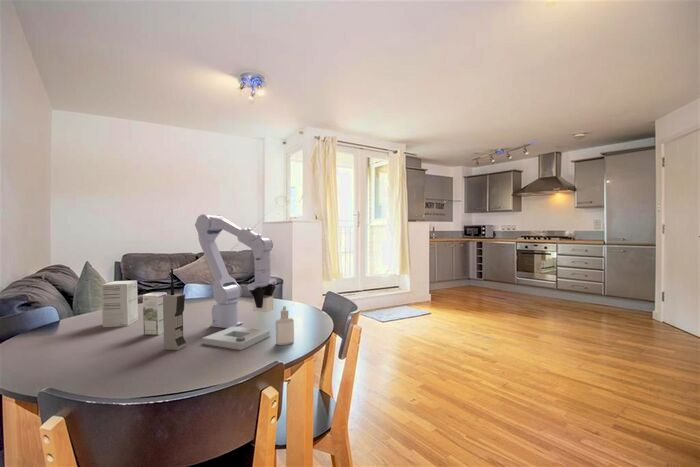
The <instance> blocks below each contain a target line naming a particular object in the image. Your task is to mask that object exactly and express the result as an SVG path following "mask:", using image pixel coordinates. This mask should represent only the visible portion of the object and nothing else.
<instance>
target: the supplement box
mask: <svg viewBox="0 0 700 467" xmlns="http://www.w3.org/2000/svg"><path fill="white" fill-rule="evenodd" d="M101 308H102V309H101V311H102V312H101V313H102V328H113V327H114V328H115V327H128V326H130V325H132V324H134V323H135V322H137V321H138V320H139V308H138V280H114V281H110V282H107V283H104V284H101Z"/></svg>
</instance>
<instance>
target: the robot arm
mask: <svg viewBox="0 0 700 467" xmlns="http://www.w3.org/2000/svg"><path fill="white" fill-rule="evenodd" d="M194 227H195V229H196V231H197V233H198V235H197V236H198V242H199V245H200V247H201V250H202V252H203V254H204V257H205V260H206V262H207V264H208V266H209V269H210V271H211V272H210V273H211V275H212V276H213V279H214V283H213V285H212V286H211V289H212V292H213V294H212V295H213V299H214V301H215V303H214V304H213V305H212V306H211V323H212V324H210V327H214V328H215V327H216V328H222V329H227V328H230V327H233V326H236V327H238V326H239V325H241V324H242V325H243V324H244V321H239V300H240V297H241V296H242V294H243V293H242V292H243V291H242V286H240V285H239V284H238V283H237V280H236V279H235V278H234V277H232V276H230V274H229V272H228V269H227V267H226V264H225V262H224V260H223V257H222V255H221V253H220V250H219V248H218V245H217V242H216V239H217V238H218V236H219V235H220V233H222V231H225V232H227V233H229V234H231V235H234V237H235V236H236V237H237V241H238V242H239V243H241V244H243V245H245V246H246V247H249V248H250V250H251V251H252V253H253V258H254V265H253V266H254V281H253V282H251V283H249V284H247V290H248V291H249V292H250V294H251V296H252V299H253V298H254V300H255V304H256V307H257V308H262V305H263V295H268V296H273V295H274V292H275V289H276V285H277V283H278V282H277V278H271V251H272V250H273V247H274V242H273V240H272V239H271V238H270V237H269V236H264V237H263V235H262V234H260V233H256V232H255V231H253V229H252V228H251V227H245V228H244V227H243V228H241V227H239V226H238V225H236V224H235V223H233V222H232V221H230V220H228V219H227V218H226V217H223V216H222V215H219V214H218V215H213V214H205V213H204V214H200V215H199V216H198V217H197V219H196V220H195V224H194Z"/></svg>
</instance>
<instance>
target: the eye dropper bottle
mask: <svg viewBox="0 0 700 467" xmlns="http://www.w3.org/2000/svg"><path fill="white" fill-rule="evenodd" d="M294 322H295V320H294V319H293V318H292V317H291V316H289V309H287V306H286V305H283V306H282V309H281V310H280V317H278V318H277V319H276V321H275V343H276V345H278V346H286V345H291V344H293V343H295V325H294V324H295V323H294Z"/></svg>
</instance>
